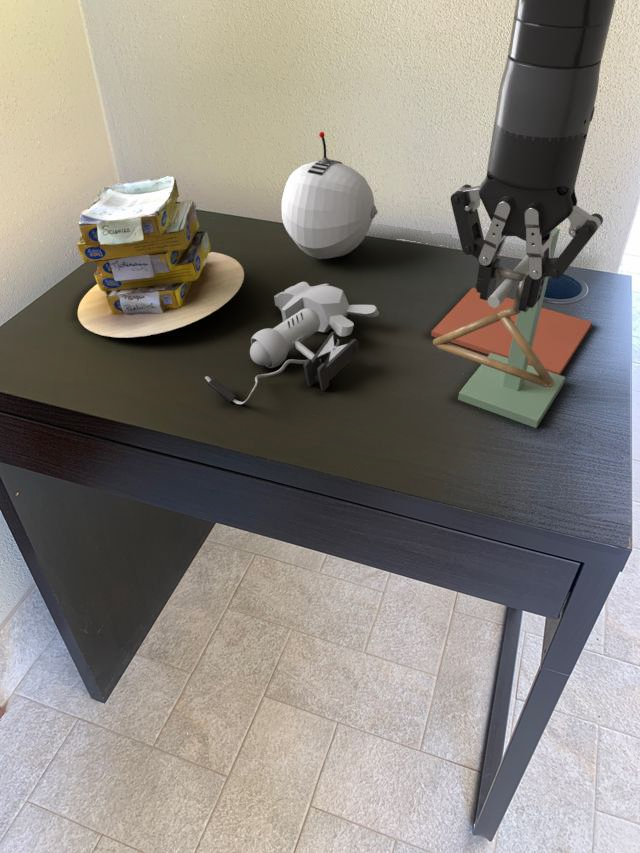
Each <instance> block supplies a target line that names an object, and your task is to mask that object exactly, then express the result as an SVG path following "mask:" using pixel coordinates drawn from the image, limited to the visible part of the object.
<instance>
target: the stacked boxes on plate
mask: <svg viewBox="0 0 640 853" xmlns="http://www.w3.org/2000/svg"><path fill="white" fill-rule="evenodd" d="M178 188H179V187H178V185H177V178H175V176H171V175H170V176H169V175H167V176H165V177H161V178H153V177H150V178H149V179H142V180H141V179H139V180H134V181H127V179H126V178H125V179H124V182H122V183H121V181H119V182H118V183H116V184H113V185H107V186H103V188H102V190H100V191H99V193H98V194H97V195H96V198H95V199H93V201H92V202H91V203H90V205H89V206H88V208H85V209H84V210H82V211H81V212H80V213H81V214H80V215H79V222H78V227H79V230H80V236H79V238H78V241H77V243H76V247H77V249H78V252H79V254H80V256H81V259H82V261H83V263H95V264H96V265H97V270H96V271H95V272H94V273H93V277H94V279H95V282H96V284H95V285H94V286H93V287H92V288H90V289H89V290H88V291H87V293H86V294H85V295H84V296H83V297H82V299H81V300H80V302H79V305H78V309H77V318H78V321H79V323H80V324H81V325H82V326H83V327H84V328H85V329H87V331H89V332H92V333H94V334H97V335H100V336H104V337H111V338H121V339H122V338H127V339H128V338H139V337H147V336H151V335H158V334H161V333H167V332H170V331H173V330H176V329H179V328H183V327H185V326H187V325H190V324H192V323H195V322H197V321H199V320H201V319H204V318H205V317H207V316H210V315H211V314H212V313H214V312H216V311H218V310H219V309H220V308H221V307H223V306H224V305H225V304H227V303H228V302H230V300H232V298H233V297H234V296H235V295H236V294H237V293H238V292H239V290H240V288H241V287H242V284H243V282H244V279H245V272H244V267H243V266H242V265H241V263H240V262H239V261H237V259H235V258H233V257H231V256H230V255H227V254H223V253H220V252H215V251H212V250H211V243H210V239H209V234H208V228H205V229H204V230H203V231H202V230H201V231H198V230H199V228H200V225H199V221H198V217H197V212H196V207H197V203H195V202H194V201H193V200H192V199H190V200H188V199H186V200H182V201H178V198H179V197H180V194H179V189H178Z"/></svg>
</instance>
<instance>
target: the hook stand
mask: <svg viewBox="0 0 640 853" xmlns="http://www.w3.org/2000/svg"><path fill="white" fill-rule="evenodd" d="M560 232H561V229H560V228H558V227H556V228H554V229H553V230H552V243H551V249H550V258H555V257H554V255H555V252H556V248H557V245H558V244H557V243H558V239H559V236H560ZM513 271H516V272H520V273H523V274H526V275H528V274H529V261H528V256H527V254H526V255H525V256H524V258H523V259H522V260H521V261H520V262H519V263H518V264H517V265H516V266H515V267H514V268H513ZM549 277H550V276H549ZM549 277H545V281H544V285H543V290H542V294H541V298H540V299H539V300H538V302H537V303H536V304H535V306H534V307H533V308H529V309H528V311H527V312H523V311H521V312H520V313H519V314H518V315H517V320H516V324H515V325H516V327H517V328H518V330H519V331H520V333H521V334H522V335H523V337H524V338H525V340H526V341H527V343H528V344H529V345H530V347H531V348H532V345H533V341H534V337H535V333H536V328H537V324H538V320H539V316H540V312H541V308H543V307H542V306H543V302H544V298H545V294H546V290H547V286H548V281H549ZM517 285H519V281H516V280H513V279H509V278H506V277H505V279H504V280H503V281H502V282H501V283H500V285H498V287H497V288H495V291H494V293H493V294H492V295H491V296H490V297H489V298H488V304H489V306H490V307H492V308H497V307H498V306H499V305H500V304H501V303H502V302H503V301H504V299H505V298H506V297H507V298H508V296H509V295H510V294H511V293H512V291H514V289H515V288H516V287H517ZM487 357H489V358H492V359H494V360H497V361H500V362H503V363H506V364H508V365H511V366H514V367H517V368H519V369H522V370H525V371H528V372H531V373H533V374H536V375H538V373H537V372H536V370H535V369H534V367H533V366H530V365H528V362H529V360H528V359H527V357H526V356H525V355H524V353H523V352H522V350H521V349H520V347H519V346H518V345H517V343H516V342H515V340H514V339H512V343H511V348H510V353H509V358H506V357H503V356H499V355H496V354H493V353H490V354H489V355H488V354H487ZM548 373H549V374H550V376H551V377H552V379H553V380H554V382H555V383H554V386H552V387H543V386H541V385H538V384H535V383H532V382H530V381H527V380H524V379H521V378H519V377H516V376H513V375H510V374H508V373H505V372H502V371H499V370H497V369H494V368H491V367H488V366H486V365H483V364H480V366H478V368H477V369H476V370H475V372H474V373H473V375H471V377H470V378H469V379H468V380H467V382H466V383H465V385H464V386H463V387H462V388H461V389H460V391H459V392H458V397H457V400H458V401H460V402H462V403H465V404H469V405H471V406H474V407H475V408H476V407H477V408H479V409H482V410H484V411H488V412H490V413H493V414H496V415H499V416H502V417H504V418H507V419H510V420H512V421H515V422H518V423H519V424H523V425H526V426H528V427H532V428H534V429H537V428H538V427H539V425H540V423H541V422H542V420H543V418H544V417H545V415H546V413H547V412H548V410H550V407H551V406H552V404H553V403H554V401H555V399H556V397H557V396H558V395H559V393H560V391H561V390H562V388H563V387H564V385H565V380H566V376H564V375H562V374H561V375H557V374H554V373H551V372H548Z"/></svg>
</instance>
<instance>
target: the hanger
mask: <svg viewBox="0 0 640 853" xmlns="http://www.w3.org/2000/svg"><path fill="white" fill-rule="evenodd" d="M513 270H514V269H513ZM513 270H512V269H510V268H506V267H503V266H500V265H499V266H498V267H496V268H495V270H494V275H493V278H494V279H495V280H496V281H500V280H502V277H503V278H505V279H506V278H509V279H513V280H516V281H519V283H518V284H517V285H518V286H517V290H516V295H515V298H514V300H515V302H514V306H513V307H512V308H509V309H506V310H502V311H498V312H496V313H494V314H491V315H489V316H487V317H484V318H482V319H480V320H477V321H475V322H473V323H470V324H468V325H466V326H463V327H461V328H459V329H456V330H454V331H452V332H449V333H447V334H445V335H442V336H440V337H438V338H436V337H434V339H433V340H432V345H433V346H435V347H436V348H437V349H438V350H442V351H445V352H446V353H450V354H452V355H456V356H458V357H460V358H464V359H466V360H469V361H472V362H474V363H478V364H480V365H481V364H483V365H486V366H488V367H491V368H494V369H497V370H499V371H502V372H505V373H508V374H510V375H513V376H516V377H519V378H521V379H524V380H527V381H530V382H532V383H535V384H538V385H541V386H543V387H552V386H554V383H555V382H554V380H553V379H552V377H551V376H550V374H549V373H548V371H547V370H546V368H545V367H544V366H543V364H542V363H541V361H540V360H539V358H538V357H537V356H536V354H535V353H534V351H533V350H532V348H531V347H530V345H529V344H528V343H527V341H526V340H525V338H524V337H523V335H522V334H521V333H520V331H519V330H518V328H517V327H516V325H515V324H514V322H513V321H512V320H511V318H510V316H513V315H517V314H519V313H520V312H521V311H520V310H519V305H520V300H521V295H522V291H523V286H524V281H525V277H526V276H527V275H526V274H523V273H520V272H516V271H513ZM500 320H501V322H502V323H503V325H504V326H505V327H506V329H507V330H508V332H509V333H510V335H511V336H512V337H513V339H514V340H515V342H516V343H517V345H518V346H519V347H520V349H521V350H522V352H523V353H524V355H525V356H526V357H527V359H528V360H529V362H530V363H531V365H532V366H533V367H534V369H535V370H536V372H537V373H538V375H536V374H533V373H531V372H528V371H525V370H522V369H519V368H517V367H514V366H511V365H508V364H506V363H503V362H500V361H497V360H494V359H492V358H489V357H488V356H485V355H483V354H480V353H479V352H478V353H477V352H474V351H472V350H469V349H466V348H465V347H462V346H459V345H456V344H453V343H451V342H450V341H452V340H455V339H457V338H459V337H462V336H464V335H467V334H469V333H471V332H474V331H476V330H479V329H481V328H483V327H486V326H488V325H491V324H493V323H495V322H498V321H500Z"/></svg>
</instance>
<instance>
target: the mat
mask: <svg viewBox="0 0 640 853" xmlns="http://www.w3.org/2000/svg"><path fill="white" fill-rule="evenodd" d="M514 302H515V298H514V299H513V298H510V297H508V296H507V297H506V298H505V299H504V301H503V302H502V303H501V304H500V305H499V306H498V307H497V308H492V307H490V306H489V304H488V300H487V301H486V300H483V299H480V293H479V292H477V290H476V287H472V288H471V289H470V290H469V291H467V293H466V294H465V295H464V296H463V297H462V298H461V299H460V300H459V301H458V303H456V305H455V306H454V307H453V308H452V309H451V310H450V311H449V312H448V313H447V314H446V315H445V316H444V318H443V319H442V320H440V322H439V323H438V324H437V325H436V326H435V327H434V328H433V329H432V330H431V337H433V338H438V337H440V336H442V335H445V334H447V333H449V332H452V331H454V330H456V329H459V328H461V327H463V326H466V325H468V324H470V323H473V322H475V321H477V320H480V319H482V318H484V317H487V316H489V315H491V314H494V313H496V312H498V311H502V310H506V309H509V308H512V307H513V306H514ZM517 315H518V314H517ZM517 315H513V316H510V318H511V320H512V321H513V322H514V324H516V320H517ZM592 324H593V321H590V320H586V319H582V318H579V317H576V316H572V315H568V314H566V313H561V312H558V311H555V310H552V309H548V308H545V307H541V312H540V316H539V320H538V324H537V328H536V333H535V337H534V341H533V345H532V350H533V351H534V353H535V354H536V356H537V357H538V358H539V360H540V361H541V363H542V364H543V366H544V367H545V368H546V370H547V371H548V372H551V373H554V374H557V375H561V376H562V373H563V371H564V370H565V368H566V366H567V365H568V364H569V362H570V361H571V359H572V357H573V356H574V355H575V353H576V351H577V350H578V348H579V346H580V345H581V343H582V341H583V340H584V338H585V337H586V336H587V334H588V333H589V331H590V329H591V328H592ZM512 339H513V337H512V336H511V335H510V333H509V332H508V330H507V329H506V327H505V326H504V325H503V323H502V322H501V320H500V321H498V322H495V323H493V324H491V325H488V326H486V327H483V328H481V329H479V330H476V331H474V332H471V333H469V334H467V335H464V336H462V337H459V338H457V339H455V340H452V341H450V342H449V343H451V344H454V345H457V346H460V347H463V348H467V349H470V350H473V351H476V352H478V353H481V354H482V353H483V354H485V355H487V356H488V355H489V354H490V353H493V354H496V355H499V356H503V357H506V358H509V353H510V348H511V343H512ZM528 365H530V366H532V365H531V363H530V362H528Z"/></svg>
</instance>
